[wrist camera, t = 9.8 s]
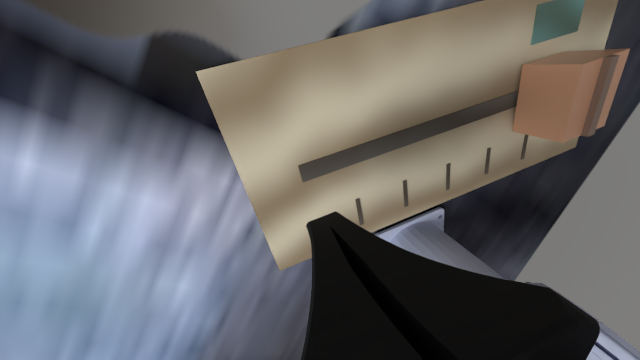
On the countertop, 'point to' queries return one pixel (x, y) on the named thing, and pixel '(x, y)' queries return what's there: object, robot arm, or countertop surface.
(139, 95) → the countertop surface
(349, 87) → the fader console
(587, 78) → the fader knob
